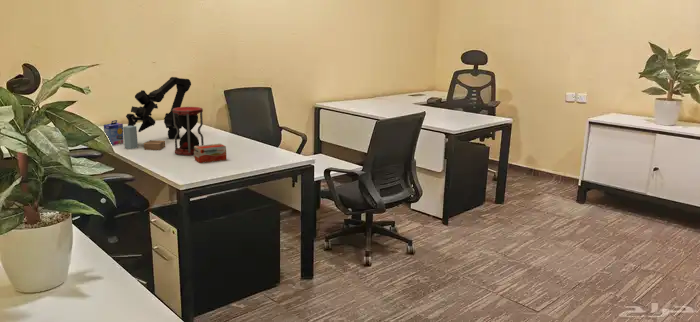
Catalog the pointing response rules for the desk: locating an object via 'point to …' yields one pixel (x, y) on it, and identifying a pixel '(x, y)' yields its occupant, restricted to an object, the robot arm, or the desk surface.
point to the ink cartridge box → (114, 132)
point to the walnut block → (154, 145)
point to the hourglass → (187, 129)
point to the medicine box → (210, 153)
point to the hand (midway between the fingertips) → (133, 130)
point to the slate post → (130, 137)
